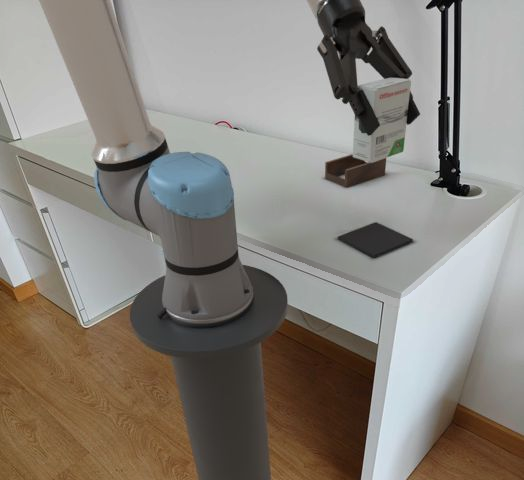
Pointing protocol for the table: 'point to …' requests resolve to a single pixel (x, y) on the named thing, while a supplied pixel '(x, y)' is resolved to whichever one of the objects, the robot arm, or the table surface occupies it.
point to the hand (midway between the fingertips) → (394, 124)
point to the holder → (353, 170)
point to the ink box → (383, 119)
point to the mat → (375, 239)
